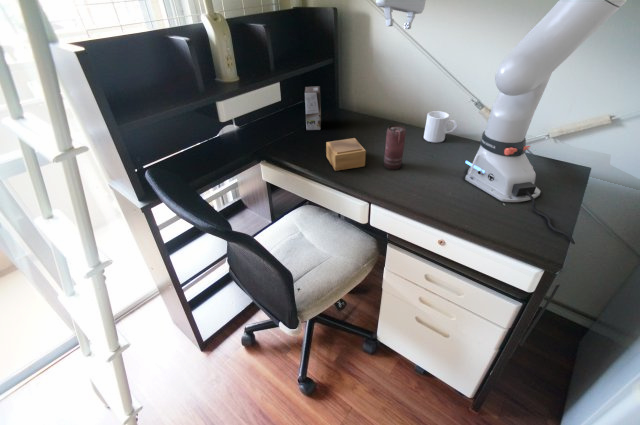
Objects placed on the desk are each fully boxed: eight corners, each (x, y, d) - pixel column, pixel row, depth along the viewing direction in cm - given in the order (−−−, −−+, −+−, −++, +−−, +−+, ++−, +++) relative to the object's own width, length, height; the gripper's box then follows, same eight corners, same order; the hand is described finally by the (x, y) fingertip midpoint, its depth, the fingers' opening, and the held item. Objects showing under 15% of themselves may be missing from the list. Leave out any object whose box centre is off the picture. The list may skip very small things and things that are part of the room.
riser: (364, 166, 115) (365, 149, 111) (335, 171, 113) (335, 154, 109) (354, 152, 124) (354, 136, 120) (326, 156, 122) (326, 141, 118)
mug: (450, 146, 125) (455, 122, 119) (420, 139, 131) (424, 115, 125) (456, 139, 130) (462, 115, 124) (428, 132, 136) (432, 109, 130)
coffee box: (321, 130, 142) (319, 92, 132) (306, 130, 142) (304, 92, 132) (321, 122, 149) (320, 85, 139) (307, 122, 149) (305, 86, 139)
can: (388, 171, 112) (392, 133, 103) (380, 163, 117) (384, 125, 108) (404, 168, 113) (410, 130, 104) (396, 160, 118) (401, 123, 109)
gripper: (391, -36, 87) (386, 23, 93) (432, -22, 99) (425, 30, 105) (373, -32, 91) (368, 24, 97) (414, -19, 104) (408, 30, 109)
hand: (398, 27), depth 101 cm, fingers open, 8 cm apart
